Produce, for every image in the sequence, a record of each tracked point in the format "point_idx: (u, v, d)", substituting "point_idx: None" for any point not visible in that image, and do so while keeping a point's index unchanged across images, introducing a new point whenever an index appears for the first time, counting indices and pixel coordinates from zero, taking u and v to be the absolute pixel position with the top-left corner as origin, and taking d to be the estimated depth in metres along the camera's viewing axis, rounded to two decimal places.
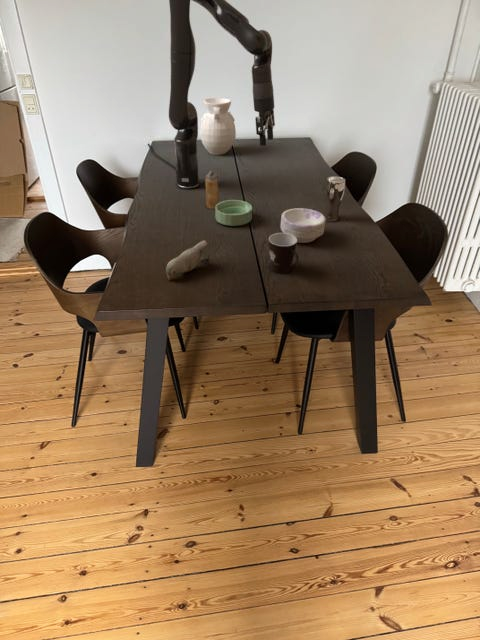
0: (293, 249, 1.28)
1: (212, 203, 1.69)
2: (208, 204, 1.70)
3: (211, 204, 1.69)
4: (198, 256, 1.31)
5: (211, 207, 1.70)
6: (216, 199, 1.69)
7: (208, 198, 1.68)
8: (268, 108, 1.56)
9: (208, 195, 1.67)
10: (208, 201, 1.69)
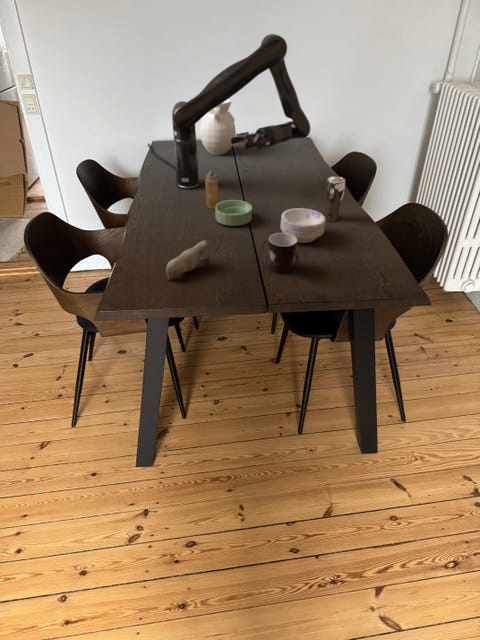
0: (293, 249, 1.28)
1: (212, 203, 1.69)
2: (208, 204, 1.70)
3: (211, 204, 1.69)
4: (198, 256, 1.31)
5: (211, 207, 1.70)
6: (216, 199, 1.69)
7: (208, 198, 1.68)
8: None
9: (208, 195, 1.67)
10: (208, 201, 1.69)
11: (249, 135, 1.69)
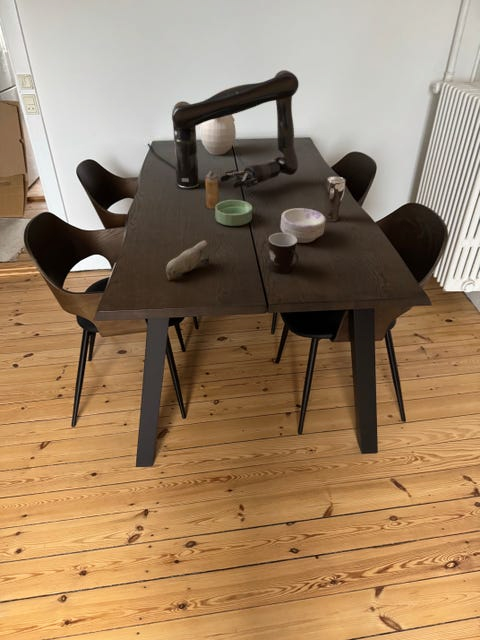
0: (293, 249, 1.28)
1: (212, 203, 1.69)
2: (208, 204, 1.70)
3: (211, 204, 1.69)
4: (198, 256, 1.31)
5: (211, 207, 1.70)
6: (216, 199, 1.69)
7: (208, 198, 1.68)
8: None
9: (208, 195, 1.67)
10: (208, 201, 1.69)
11: (238, 173, 1.75)
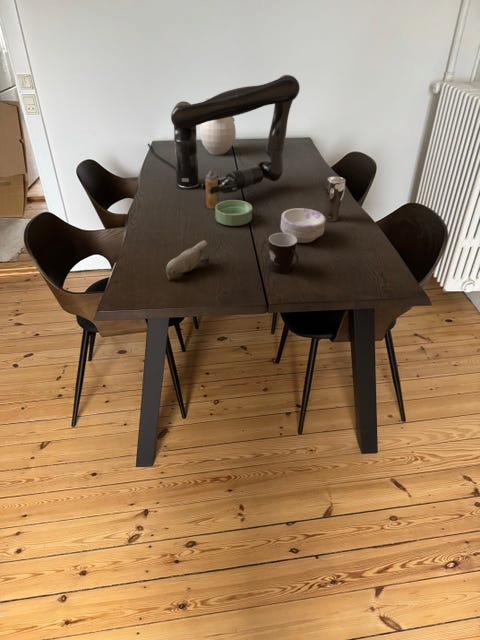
0: (293, 249, 1.28)
1: (212, 203, 1.69)
2: (208, 204, 1.70)
3: (211, 204, 1.69)
4: (198, 256, 1.31)
5: (211, 207, 1.70)
6: (216, 199, 1.69)
7: (208, 198, 1.68)
8: (237, 189, 1.73)
9: (208, 195, 1.67)
10: (208, 201, 1.69)
11: (220, 179, 1.70)
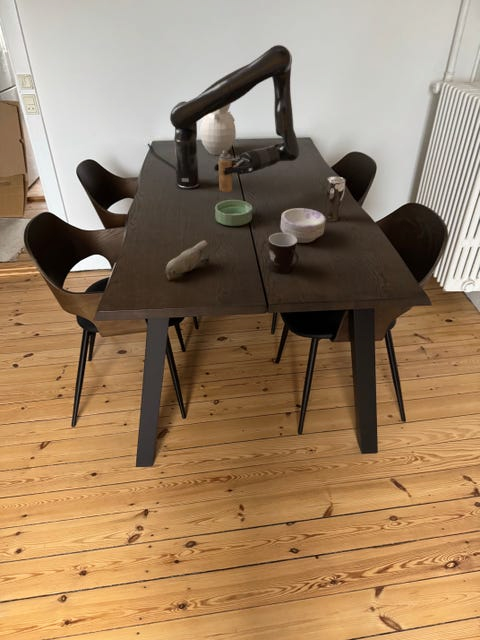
0: (293, 249, 1.28)
1: (225, 185, 1.57)
2: (221, 187, 1.58)
3: (225, 186, 1.57)
4: (198, 256, 1.31)
5: (224, 190, 1.58)
6: (230, 181, 1.57)
7: (221, 180, 1.56)
8: None
9: (221, 177, 1.55)
10: (221, 183, 1.57)
11: (234, 160, 1.58)
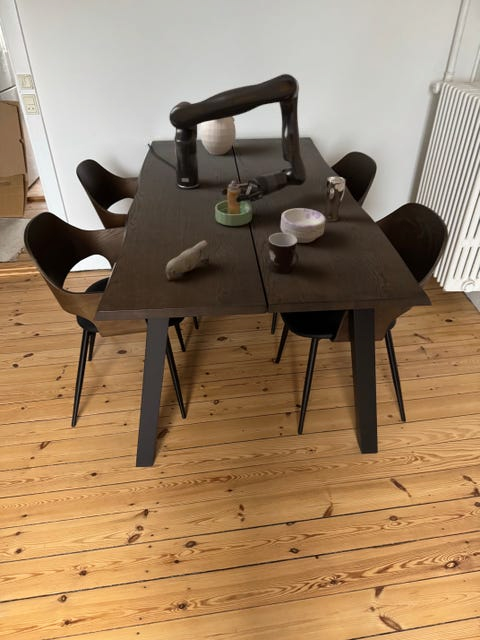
0: (293, 249, 1.28)
1: None
2: None
3: None
4: (198, 256, 1.31)
5: None
6: (238, 210, 1.59)
7: (230, 209, 1.58)
8: None
9: (230, 206, 1.57)
10: (230, 212, 1.59)
11: (241, 186, 1.59)
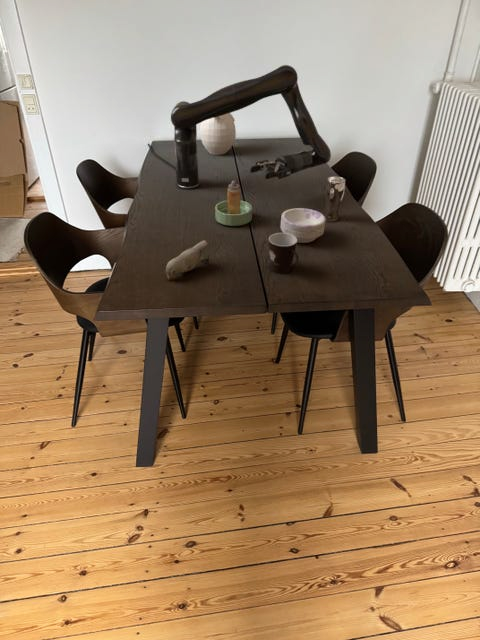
0: (293, 249, 1.28)
1: None
2: None
3: None
4: (198, 256, 1.31)
5: None
6: (238, 210, 1.59)
7: (230, 209, 1.58)
8: None
9: (230, 206, 1.57)
10: (230, 212, 1.59)
11: (269, 164, 1.64)
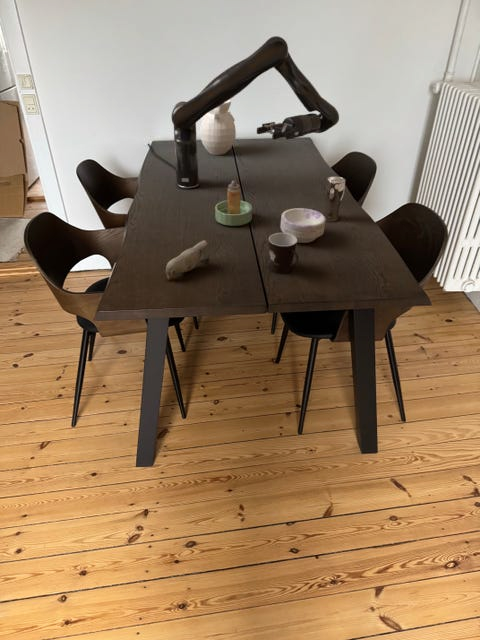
0: (293, 249, 1.28)
1: None
2: None
3: None
4: (198, 256, 1.31)
5: None
6: (238, 210, 1.59)
7: (230, 209, 1.58)
8: None
9: (230, 206, 1.57)
10: (230, 212, 1.59)
11: (276, 125, 1.58)
